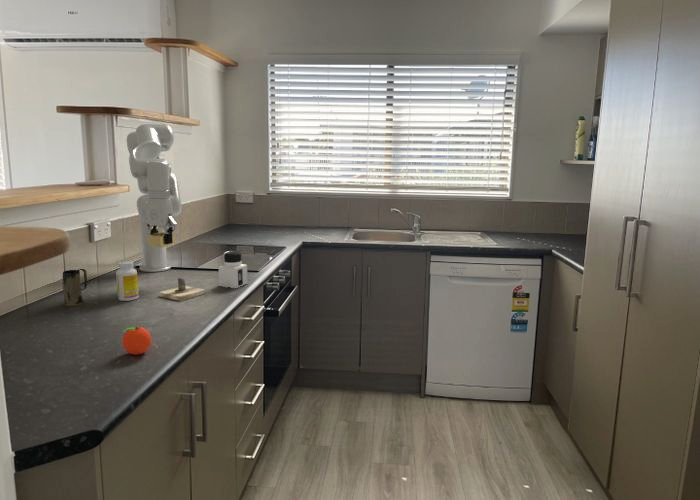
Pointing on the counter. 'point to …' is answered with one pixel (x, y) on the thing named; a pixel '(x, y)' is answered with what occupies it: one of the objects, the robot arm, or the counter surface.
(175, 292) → the post stand
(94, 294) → the counter surface
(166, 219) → the robot arm
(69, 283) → the mug
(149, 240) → the collar
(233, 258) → the container
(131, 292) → the supplement bottle
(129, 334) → the clementine
